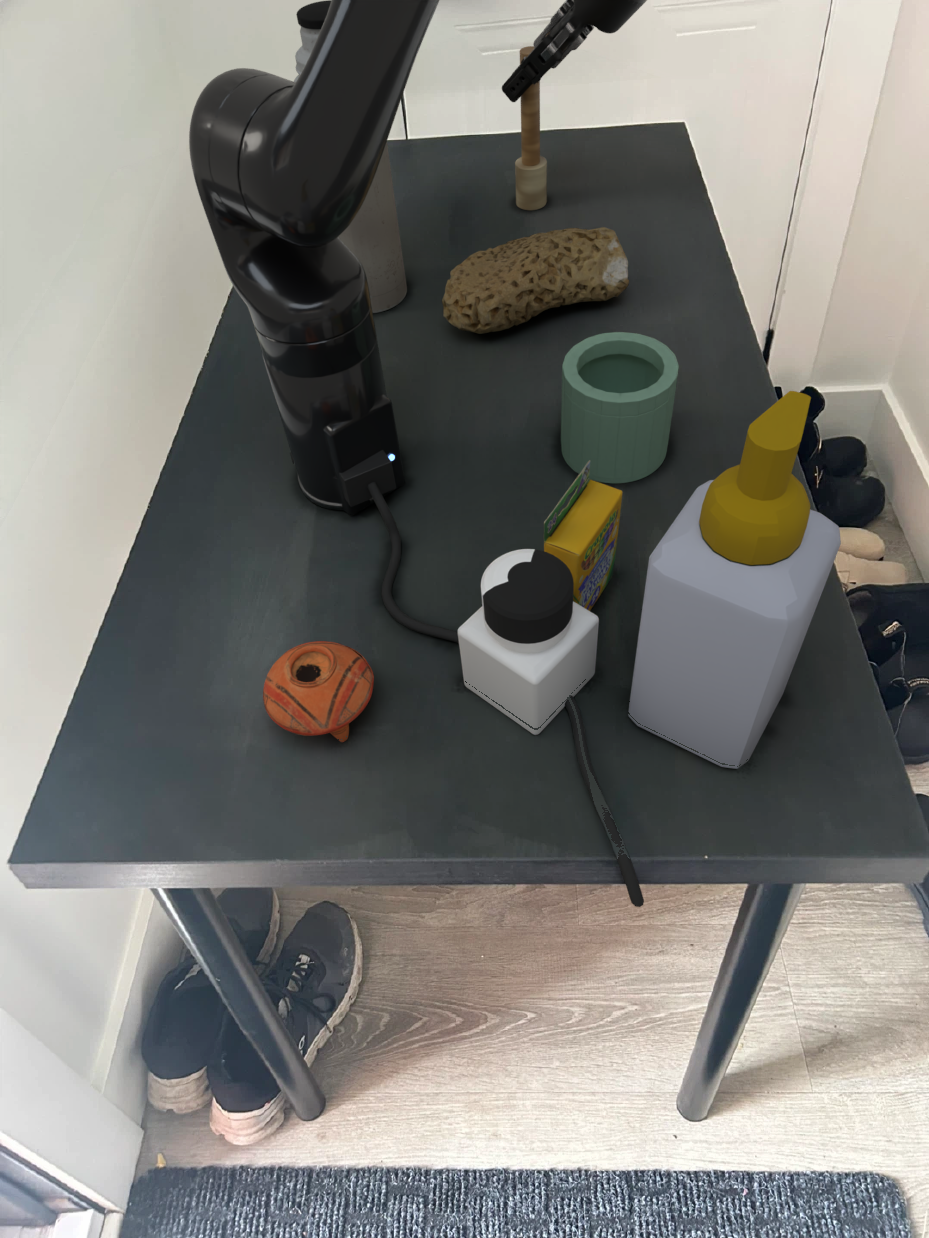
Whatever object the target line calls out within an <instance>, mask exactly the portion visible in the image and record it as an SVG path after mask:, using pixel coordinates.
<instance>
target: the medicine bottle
mask: <svg viewBox="0 0 929 1238" xmlns="http://www.w3.org/2000/svg"><path fill="white" fill-rule="evenodd" d="M573 590H574V582H573V577H572V574H571V572H570V570H569V568H568V567H567V565H566V564H565V563H564V562H563V561H561V560H560V559H559V558H557V557H556V556H554V555H552V554H550V553H547V552H544V550H542V549H537V548H536V549H535V548H522V549H521V548H520V549H515V550H512V551H509V552H506V553H504V554H502V555H499V556H498V557H497V558H495V559H494V560H493V561H492V562H490V564H488V565H487V567H486V569H485V570H484V572H483V573H482V576H481V580H480V595H481V604H482V606H480V607H479V608H478V609H477V610H476V611H474V613H473V614H472V615H471V616H470V617H469V618H468V619H467V620H465V621H464V622H463V623H462V624H461V625H460V626H459V627H458V629H457V632H458V639H459V643H458V648H459V654H460V662H461V670H462V677H463V678H462V679H463V685H464V686H465V687H466V688H467V689H468V690H470V691H471V692H473V694H475V695H476V696H478V697H479V698H481V699H482V700H484V702H487V703H488V704H489V705H491V706H493V707H494V708H495V709H496V710H498V711H500V712H501V713H502V714H503V715H505V716H507V717H508V718H509V719H511V720H512V721H513V722H515V723H517V724H518V725H519V726H521V727H522V728H523V729H525V730H526V731H528V732H529V733H531V734H532V735H534V736H538V735H539V734H540V733H542V732H543V731H544V729H545V728H546V727H547V726H548V725H549V724H550V723H551V722H552V721H553V720H554V719H555V718H556V716H558V714H559V713H560V712H561V711H562V710H564V708H566V706H565V702H566V701H565V700H566V699H567V697H569V695H572V696H573V698H574V697H575V696H576V695H577V694H578V693H579V692H580V691H581V690H582V689H583V688H584V686H585V685H586V684H587V683H589V681H590V680H591V679H592V678H594V676H595V674H596V664H597V663H596V662H597V652H598V651H597V649H598V637H599V626H600V625H599V624H600V619H599V616H598V615H597V614H595V613H594V612H592V611H591V610H590V611H588V610H587V609H585V608H584V607H582V606H580V605H579V604H577V603H575V602H574V601H573ZM585 679H586V680H585ZM584 680H585V681H584ZM465 681H466V682H467V683H466V682H465ZM583 681H584V682H583ZM582 682H583V683H582ZM469 684H470V685H469ZM580 684H581V685H580ZM579 685H580V686H579ZM472 686H473V687H472ZM474 687H475V688H476V689H477V690H476V689H475V688H474ZM577 687H578V688H577ZM576 688H577V689H576ZM574 690H575V691H574ZM479 691H480V692H479ZM481 692H482V693H483V694H482V693H481ZM572 692H573V693H572ZM571 693H572V694H571ZM484 694H485V695H487V696H488V697H489V698H490V699H489V698H488V697H486V696H485V695H484ZM491 699H492V700H494V701H495V702H497V703H498V704H500V705H502V706H503V707H504V708H505V709H506V710H508V711H510V712H511V713H513V714H514V715H515V716H517V717H518V718H520V719H521V720H523V721H524V722H526V723H527V724H529V725H530V726H532V727H533V728H538V727H540V726H541V725H542V724H543V723H544V722H545V721H546V719H548V718H549V716H550V715H551V714H552V713H553V712H554V711H555V710H556V709H557V708H558V707H559V706H560V705H561V704H562V702H564V701H565V702H564V703H563V704H562V705H561V706H560V707H559V708H558V709H557V710H556V712H555V713H554V714H553V715H552V716H551V717H550V718H549V719H548V720H547V721H546V722H545V723H544V724H543V725H542V726H541V728H539V729H538V730H534V729H532V728H530V727H529V726H528V725H526V724H525V723H523V722H522V721H520V720H519V719H518V718H516V717H515V716H513V715H512V714H511V713H509V712H508V711H506V710H505V709H503V708H502V707H501V706H499V705H498V704H496V703H495V702H493V701H492V700H491Z"/></svg>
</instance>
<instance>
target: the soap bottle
mask: <svg viewBox="0 0 929 1238" xmlns="http://www.w3.org/2000/svg"><path fill="white" fill-rule="evenodd" d="M811 399H812V397H811V396H810V395H808V394H807V393H803V392H799V391H796V390H789V391H787V393H786V394H784V395H783V396H782V397H781V398H780V399H778V400H777V401H776V402H775V403H773V404H772V405H771V406H770V407H769V408H768V409H766V411H764V412H763V413H761V414H760V415H759V416H758V417H757V418H756V419H755V420H754V421H751V423H750V424H749V425H748V429H747V433H746V437H745V440H744V441H745V442H744V446H743V450H742V454H741V459H740V462H739V464H737V465H734V466H732V467H729V468H727V469H725V470H724V471H723V472H721V473H720V474H719V475H718V476H717V477H716V478H715V479H709V480H707V481H706V482H704V483H702V484H701V485H699V486H697V488H696V489H695V490H694V491H693V493H692V494H691V496H690V497H689V499H688V500H687V501H686V503H685V504H684V506H683V508H681V510H680V512H679V513H678V515H677V516H676V517H675V519H674V520H673V522H672V523H671V524H670V526H669V527H668V529H667V530H666V532H665V533H664V535H663V536H662V538H661V539H660V540H659V542H658V543H657V544H656V547H655V548H654V549H653V551H652V552H651V554H650V555H649V557H648V562H647V563H648V564H647V571H646V577H645V586H644V592H643V599H642V607H641V609H642V610H641V615H640V623H639V629H638V636H637V642H636V643H637V644H636V649H635V650H636V651H635V657H634V658H635V659H634V666H633V673H632V680H631V688H630V695H629V701H630V702H629V701H628V711H627V717H629V719H631V721H632V722H633V723H634V724H635V725H636V726H637V727H639V728H641V729H643V730H645V731H647V732H650V733H651V734H653V735H655V736H657V737H660V738H662V739H664V740H666V741H668V742H669V743H672V744H674V745H676V746H678V747H680V748H682V749H683V750H687V751H688V752H691V753H692V754H694V755H697V756H699V757H701V758H703V759H705V760H707V761H709V762H711V763H713V764H715V765H717V766H719V767H721V768H728V769H736V770H738V769H740V768H741V767H742V766H744V764H746V763H747V762H749V761H750V758H751V757H752V755H753V753H754V751H755V749H756V747H757V745H758V743H759V741H760V739H761V738H762V735H763V733H764V731H765V730H766V728H767V725H768V723H769V722H770V720H771V718H772V716H773V714H774V712H775V710H776V708H777V707H778V705H779V702H780V701H781V699H782V697H783V695H784V692H785V690H786V688H787V685H788V682H789V679H790V677H791V674H792V672H793V669H794V667H795V664H796V661H797V659H798V656H799V653H800V651H801V648H802V646H803V644H804V640H805V638H806V635H807V633H808V630H809V627H810V626H811V622H812V620H813V618H814V615H815V612H816V610H817V607H818V604H819V601H820V599H821V596H822V594H823V591H824V588H825V586H826V584H827V581H828V578H829V576H830V573H831V571H832V568H833V565H834V562H835V561H836V558H837V555H838V552H839V550H840V547H841V544H842V540H841V530H840V526H839V525H838V524H836V523H835V522H834V521H832V520H831V519H829V518H828V517H827V516H825V515H824V514H822V512H819V511H817V510H816V511H815V510H813V509H811V502H810V499H809V497H808V493H807V491H806V489H805V487H804V484H803V483H801V481H800V480H799V479H798V478H797V477H796V476H795V475H794V474H793V473H792V472H793V469H794V466H795V462H796V459H797V456H798V452H799V448H800V445H801V442H802V438H803V434H804V430H805V425H806V422H807V417H808V413H809V408H810V403H811ZM628 712H629V713H630V715H631V716H632V717H633V718H634V719H635V720H636V721H637V722H638V723H640V724H641V725H640V724H638V723H637V722H636V721H635V720H634V719H633V718H632V717H631V716H630V715H629V714H628ZM642 725H643V726H642ZM644 726H646V727H648V728H650V729H652V730H655V731H656V732H658V733H656V732H654V731H652V730H650V729H648V728H646V727H644ZM659 733H660V734H659ZM661 734H662V735H661ZM663 735H665V736H666V737H665V736H663ZM667 737H668V738H667ZM669 738H670V739H669ZM671 739H673V740H675V741H677V742H678V743H677V742H675V741H673V740H671ZM679 743H681V744H683V745H685V746H687V747H689V748H692V749H694V750H696V751H698V752H699V753H697V752H695V751H693V750H691V749H689V748H687V747H685V746H683V745H681V744H679ZM700 753H701V754H700ZM702 754H705V755H706V756H708V757H710V758H712V759H714V760H716V761H718V762H720V763H725V764H728V765H722V764H720V763H718V762H716V761H714V760H712V759H710V758H708V757H706V756H704V755H702ZM747 759H748V760H747ZM746 760H747V761H746ZM740 764H741V765H740ZM729 765H735V766H729ZM739 765H740V766H739ZM737 766H738V767H737Z"/></svg>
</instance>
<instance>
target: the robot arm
mask: <svg viewBox="0 0 929 1238" xmlns="http://www.w3.org/2000/svg"><path fill="white" fill-rule="evenodd" d="M647 1H648V0H565V1H564V2H563V3H562V4H561V5H560V7H559V8H558V9H557V10H556V11H555V12H554V14H553V15H552V16H551V17H550V21H549V22H548V24H547V25H546V26H545V28H543V30H541V32H540V34H539V35H538V36H537V37H536V38H535V39H534V41H533V44H532V45H533V46H534V49H533V50H532V51H531V52H530V54H529V55H528V56H527V57H526V56H525V57H524V58H523V59H522V61H521V64H520V63H519V65H518V66H517V67H516V69H515V70H514V71H513V72H512V73H511V75H510V76H509V77H508V78H507V80H505V82H504V83H503V84H502V86H501V91H502V93H503V94H505V96H506V97H507V99H509V101H510V102H511V103H516V102H517V101H518V100H519V99H521V96H522V95H523V93H524V92H525V91H526V90H527V89H528V88H529V87H530V86H531V85H532V84H534V85H535V84H536V83H538V82H539V81H540V82H541V80H542V78H543V77H544V76H545V75H546V74H547V73H548V72H549V71H550V70H551V69H556V68H557V67H558V66H559V65H560V64H561V63H562V62H563V61H564V60H565V58H567V56H569V54H570V53H571V52H572V51H576V50H577V49H579V48H580V46H581V45H582V44H583V43H584V41H586V40H587V38H588V35H590V33H591V32H592V31H594V29H595V28H596V29H597V30H598V31H600V32H602V33H605V34H615V33H616V32H618V31H619V30H620V29H621V28H622V27H623V26H624V25H625V24H626V23H627V22H628V21H629V20H630V19H631V18H632V17H633V16H634V15H635V13H636V12H638V10H640V9H641V8H642V6H643V5H644V4H645V3H646V2H647ZM439 3H440V0H331V4H330V7H329V10H328V13H327V16H326V18H325V21H324V23H323V25H322V28H321V30H320V33H319V35H318V38H317V40H316V43H315V45H314V48H313V50H312V52H311V55H310V57H309V59H308V61H307V63H306V65H305V67H304V69H303V71H302V72H301V74H300V76H299V78H298V80H297V81H296V82H294V80H290V79H288V78H284V77H282V76H279V75H276V74H273V73H270V72H267V71H264V70H260V69H257V68H248V67H247V68H246V67H241V68H240V67H239V68H237V67H236V68H233V69H229V70H227V71H224V72H221V73H220V74H218V75H216V76H215V77H214V78H213V79H211V80H210V81H209V82H208V83H207V84H206V85H205V87H203V89H202V91H200V94H199V96H198V98H197V100H196V102H195V105H194V108H193V110H192V113H191V117H190V122H189V132H188V133H189V134H188V149H189V158H190V165H191V169H192V174H193V177H194V182H195V186H196V189H197V193H198V196H199V199H200V201H201V205H202V207H203V211H204V213H205V216H206V220H207V222H208V225H209V228H210V230H211V233H212V236H213V239H214V241H215V244H216V247H217V250H218V253H219V256H220V258H221V262H222V264H223V267H224V269H225V272H226V274H227V278H228V279H229V281H230V282H231V285H232V286H233V288H234V290H235V291H236V293H237V294H238V296H239V297H240V298H241V300H242V301H243V302H244V304H245V305H246V307H247V309H248V312H249V314H250V318H251V320H252V321H251V322H252V324H253V328H254V331H255V334H256V338H257V341H258V345H259V348H260V351H261V355H262V359H263V362H264V366H265V369H266V373H267V375H268V379H269V383H270V386H271V390H272V392H273V393H272V394H273V396H274V399H275V403H276V406H277V409H278V413H279V416H280V419H281V423H282V427H283V429H284V434H285V436H286V440H287V443H288V446H289V450H290V452H289V456H290V459H291V462H292V465H295V469H296V473H297V480H298V484H299V488H300V490H301V491H302V493H303V495H304V496H305V498H307V499H308V500H309V501H310V502H312V503H313V504H315V505H317V506H319V507H322V508H324V509H330V510H338V511H344V512H346V513H347V515H349V516H355V515H356V514H358V513H359V512H361V511H362V510H364V509H366V508H367V507H370V506H371V505H372V504H375V505H376V508H377V510H378V512H379V514H380V517H381V519H382V521H383V523H384V525H385V527H386V529H387V531H388V534H389V537H390V544H391V545H390V546H391V552H390V560H389V563H388V567H387V569H386V571H385V575H384V577H383V579H382V580H383V581H382V583H381V590H380V591H381V600H382V602H383V605H384V606H385V608H386V610H387V612H388V613H389V614H390V616H391V617H392V618H393V619H394V620H396V621H397V622H398V623H399V624H401V625H402V626H404V627H405V628H407V629H409V630H412V631H415V632H416V633H420V634H423V635H427V636H431V637H433V638H434V637H435V638H439V639H442V640H446V641H449V642H452V643H457V644H459V639H458V630H453V629H449V628H446V627H441V626H437V625H433V624H430V623H425V622H424V621H423V622H422V621H420V620H417V619H415V618H413V617H411V616H409V615H408V614H406V613H405V612H403V610H402V609H400V607H399V606H398V605H397V604H396V602H395V601H394V598H393V591H392V590H393V585H394V581H395V578H396V575H397V572H398V569H399V566H400V563H401V559H402V558H401V557H402V541H401V540H402V539H401V535H400V532H399V528H398V525H397V523H396V521H395V519H394V516H393V515H392V512H391V510H390V507H389V506H388V504H387V502H386V500H385V498H384V497H386V496H387V495H389V494H390V493H392V492H394V491H396V490H397V489H399V488H401V487H402V486H404V485H405V484H406V477H405V472H404V465H403V460H402V454H401V448H400V442H399V435H398V430H397V423H396V419H395V418H396V417H395V413H394V406H393V402H392V400H391V399H390V398H389V397H388V393H387V389H386V388H387V387H386V382H385V377H384V371H383V364H382V359H381V354H380V348H379V342H378V337H377V336H378V335H377V329H376V324H375V319H374V313H373V312H372V306H371V298H370V292H369V287H368V281H367V277H366V273H365V270H364V268H363V266H362V264H361V263H360V261H359V260H358V258H357V257H356V256H355V255H354V254H353V253H352V252H351V250H350V249H349V248H348V247H347V246H346V245H345V244H344V243H343V242H342V241H341V240H340V238H339V237H338V236H339V235H340V234H341V233H342V232H344V231H345V230H346V229H347V227H348V226H349V225H350V223H351V222H352V220H353V219H354V218H355V216H356V215H357V213H358V211H359V210H360V208H361V206H362V204H363V202H364V200H365V198H366V196H367V193H368V191H369V189H370V186H371V184H372V181H373V179H374V176H375V174H376V171H377V168H378V165H379V162H380V160H381V157H382V154H383V151H384V148H385V145H386V142H387V143H388V139H389V136H390V133H391V130H392V127H393V125H394V121H395V119H396V115H397V113H398V109H399V107H400V104H401V101H402V97H403V95H404V92H405V89H406V86H407V83H408V81H409V78H410V76H411V75H410V74H411V72H412V70H413V67H414V65H415V61H416V58H417V56H418V53H419V51H420V48H421V46H422V43H423V41H424V38H425V36H426V33H427V32H428V29H429V26H430V24H431V21H432V19H433V17H434V14H435V12H436V10H437V7H438V5H439ZM570 698H571V700H572V702H573V704H574V706H575V709H576V712H577V715H578V719H579V724H580V729H581V735H582V741H583V747H584V752H585V756H586V760H587V764H588V767H589V770H590V772H591V773H592V775H593V776H594V779H595V781H596V783H597V785H598V787H599V789H600V790H601V792H602V789H601V786H600V784H599V781H598V779H597V776H596V773H595V771H594V768H593V765H592V762H591V758H590V754H589V750H588V749H589V747H588V742H587V736H586V730H585V726H584V721H583V717H582V714H581V711H580V708H579V705H578V704H577V701H576V699H575V698H574V697H573V696H572V695H571V696H570ZM565 709H566V711H567V713H568V716H569V718H570V721H571V726H572V732H573V739H574V745H575V751H576V757H577V761H578V764H579V768H580V772H581V774H582V778H583V780H584V783H585V786H586V789H587V791H588V794H589V796H590V798H591V801H592V803H593V805H594V801H593V797H592V793H591V789H590V782H589V778H588V774H587V770H586V767H585V764H584V760H583V756H582V752H581V747H580V741H579V734H578V728H577V723H576V718H575V715H574V711H573V709H572V706H571V704H570V702H569V700H568V699H567V700H566V702H565ZM602 794H603V795H604V793H603V792H602ZM601 806H603V805H601ZM594 808H595V809H596V807H595V805H594ZM602 809H603V810H604V812H603V813H605V814H604V815H603V816H605V817H604V819H605V820H604V819H603V820H604V822H605V824H606V827H607V829H609V830H608V832H610V833H609V834H612V835H611V838H612V839H611V840H612V841H613V842H614V841H615V842H614V843H615V844H618V845H617V846H616V847H619V848H620V847H622V846H624V845H622V846H621V844H622V842H620V841H622V839H623V838H622V839H621V838H620V836H619V834H621V832H620V831H619V832H620V833H619V832H618V831H617V827H618V826H617V827H616V825H617V824H616V825H615V823H616V821H615V819H614V820H613V819H612V818H611V817H610V815H611V814H612V813H611V814H610V813H609V811H608V810H605V809H607V808H604V807H602ZM605 811H608V812H605ZM596 813H597V814H598V812H597V811H596ZM603 813H602V814H603ZM614 821H615V822H614ZM622 849H624V848H622ZM619 852H621V853H619ZM619 852H618V854H619V855H618V856H619V857H618V859H617V858H616V861H617V864H618V867H619V869H620V872H621V875H622V877H623V881H624V884H625V887H626V890H627V894H628V896H629V899H630V903H631V904H632V905H633V906H634V907H636V908H641V907H642V906H644V902H645V899H644V896H643V892H642V889H641V886H640V883H639V880H638V876H637V874H636V871H635V868H634V865H633V862H632V859H631V858H630V859H629V858H628V857H627V855H626V854H623V855H621V854H622V853H624V851H623V850H621V849H620V850H619Z"/></svg>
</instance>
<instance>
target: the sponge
mask: <svg viewBox="0 0 929 1238" xmlns="http://www.w3.org/2000/svg"><path fill="white" fill-rule="evenodd" d="M628 267H629V261H628V258H627V255H626V253H625V251H624V249H623V246H622V245H621V243H620V240H619V237H618V236H617V233H616V231H615V230H614V229H610V228H607V227H605V226H602V227H596V228H591V229H587V228H584V229H583V228H579V227H568V228H564V229H554V230H549V231H547V232H538V233H534V234H531V235H530V236H524V237H520V238H515V239H511V240H509V241H507V242H506V243H503V244H500V245H497V246H496V247H494V248H492V247H488V248H487V249H486V250H478V251H476V252H474V253H472V254H470V255H468V257H467V258H465V259H464V260H463V261H462V262H461V263H459V264H456V266H455V267H454V268H453V269H451V271H450V272H449V274H450V278H449V279H447V281H446V284H445V286H444V294H443V297H442V299H441V303H442V307H443V311H442V312H443V318H444V319H445V320H446V321H447V322H448V323H449V324H451V325H452V327H455V328H457V329H458V330H460V331H463V332H471V333H475V334H478V335H482V334H487V333H495V332H501V331H504V330H508V329H510V328H512V327H514V326H516V327H517V326H518V325H521V324H523V323H527V322H528V321H530V320H531V319H532V318H533V317H536V316H538V315H539V314H541V313H542V312H544V311H547V310H548V309H552V308H559V307H561V306H569V305H573V304H578V303H585V302H606V301H608V300H610V299H612V298H615V297H616V298H618V297H619V296H620V295H621V293H623V292H624V290H626V289H627V288H628V286H629V284H630V280H629V279H628V277H629V270H628Z"/></svg>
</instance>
